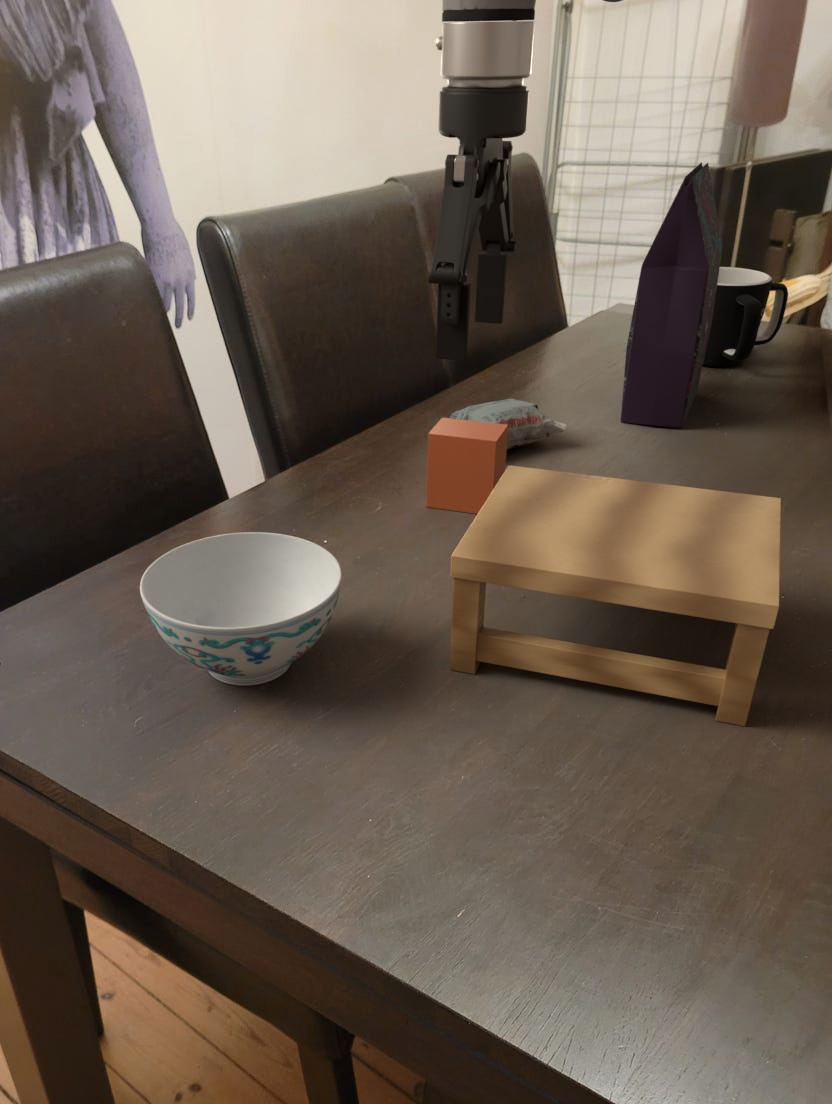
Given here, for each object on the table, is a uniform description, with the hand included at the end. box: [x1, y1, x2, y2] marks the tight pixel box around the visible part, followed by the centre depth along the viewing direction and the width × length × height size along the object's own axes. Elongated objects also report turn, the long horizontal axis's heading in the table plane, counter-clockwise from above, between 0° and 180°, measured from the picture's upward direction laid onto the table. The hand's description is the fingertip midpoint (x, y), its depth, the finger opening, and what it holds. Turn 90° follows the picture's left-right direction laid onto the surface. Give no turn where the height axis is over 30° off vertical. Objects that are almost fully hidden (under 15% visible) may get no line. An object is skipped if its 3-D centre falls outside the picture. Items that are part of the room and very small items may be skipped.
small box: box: [425, 417, 508, 515], centre depth 98 cm, size 7×5×8 cm
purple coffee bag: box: [620, 162, 723, 430], centre depth 117 cm, size 8×16×28 cm, turn 156°
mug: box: [703, 266, 789, 367], centre depth 139 cm, size 16×16×12 cm
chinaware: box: [139, 531, 343, 686], centre depth 73 cm, size 15×15×8 cm
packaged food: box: [449, 398, 567, 450], centre depth 113 cm, size 9×12×5 cm
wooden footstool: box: [449, 465, 782, 727], centre depth 75 cm, size 22×18×10 cm
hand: (471, 339), depth 92 cm, fingers open, 13 cm apart
